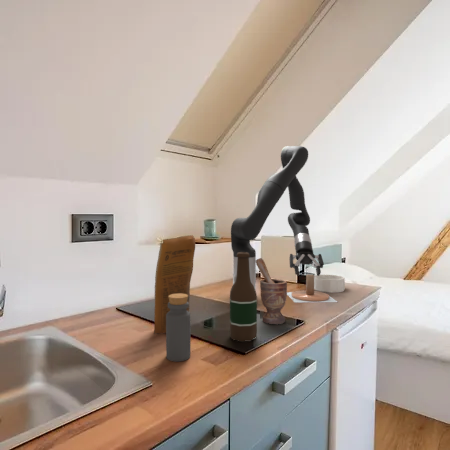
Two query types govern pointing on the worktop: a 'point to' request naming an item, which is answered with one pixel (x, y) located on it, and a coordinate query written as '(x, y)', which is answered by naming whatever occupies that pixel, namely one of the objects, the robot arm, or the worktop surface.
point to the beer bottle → (243, 302)
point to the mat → (309, 301)
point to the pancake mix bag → (172, 275)
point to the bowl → (329, 283)
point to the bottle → (178, 328)
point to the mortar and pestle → (272, 295)
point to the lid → (310, 292)
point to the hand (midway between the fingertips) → (308, 274)
